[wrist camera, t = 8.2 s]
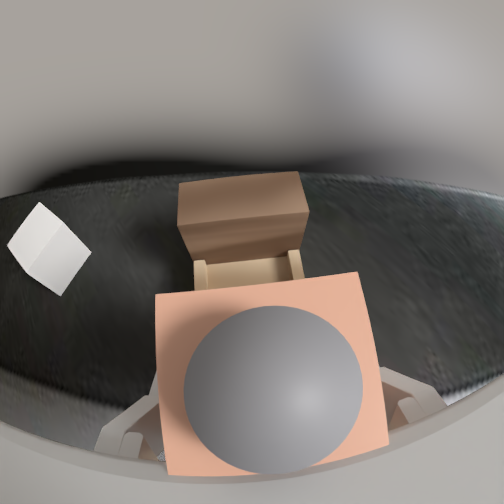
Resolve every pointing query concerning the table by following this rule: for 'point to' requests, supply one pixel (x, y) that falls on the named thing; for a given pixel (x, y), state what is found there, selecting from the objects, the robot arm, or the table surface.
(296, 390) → the pink capped carton
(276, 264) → the track
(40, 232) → the white cube
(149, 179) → the table surface
